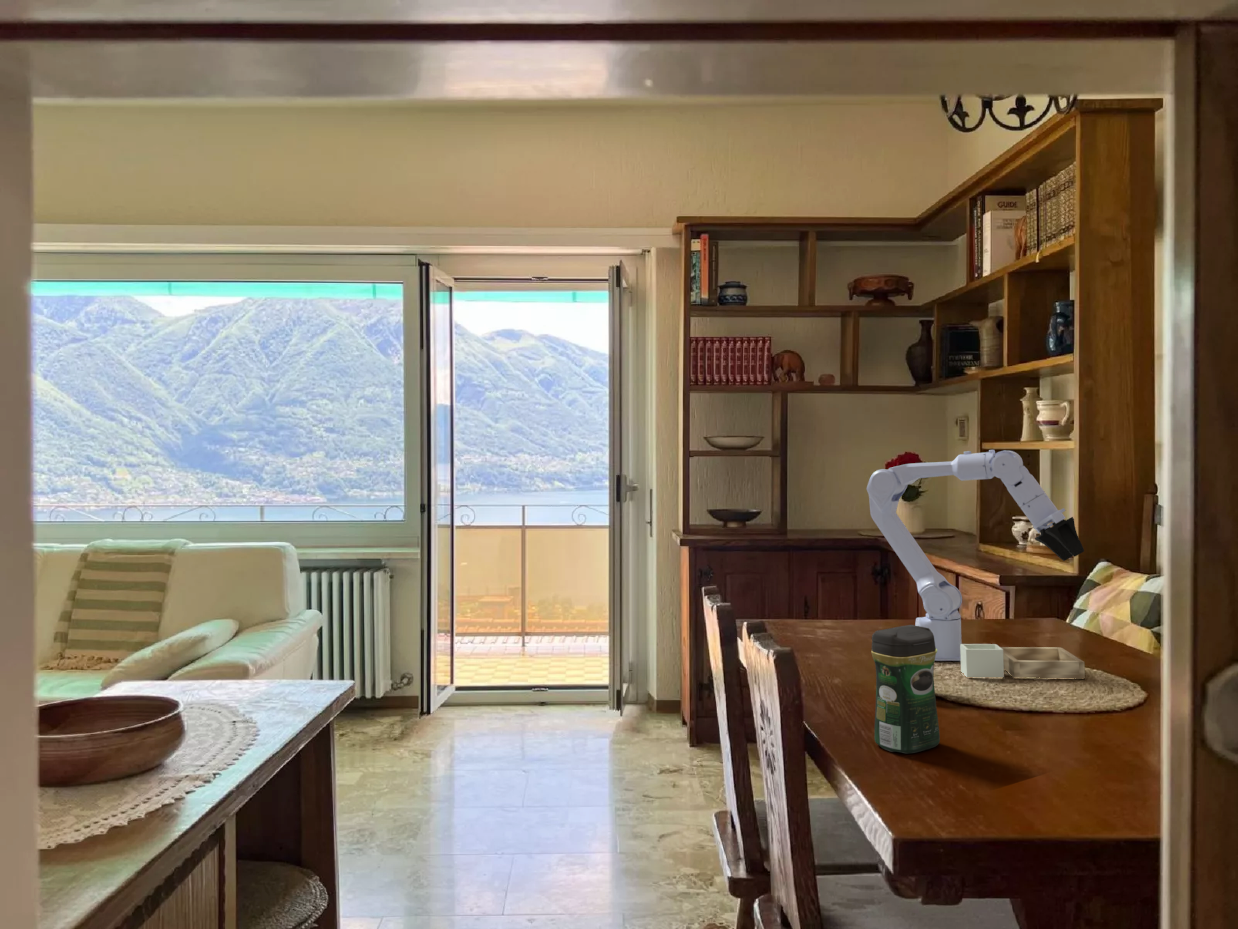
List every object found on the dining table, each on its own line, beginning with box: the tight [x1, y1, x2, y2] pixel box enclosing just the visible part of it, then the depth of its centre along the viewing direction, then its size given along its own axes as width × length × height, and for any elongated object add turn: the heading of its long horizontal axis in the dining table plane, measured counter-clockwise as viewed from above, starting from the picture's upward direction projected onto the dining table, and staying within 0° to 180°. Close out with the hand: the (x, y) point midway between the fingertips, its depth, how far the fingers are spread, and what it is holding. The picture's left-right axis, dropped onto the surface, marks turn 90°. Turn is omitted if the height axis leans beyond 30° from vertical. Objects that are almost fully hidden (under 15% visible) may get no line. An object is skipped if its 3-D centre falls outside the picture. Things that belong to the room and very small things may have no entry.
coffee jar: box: [870, 624, 941, 754], centre depth 136 cm, size 10×8×19 cm
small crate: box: [960, 643, 1005, 678], centre depth 176 cm, size 7×5×6 cm
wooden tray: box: [999, 646, 1086, 679], centre depth 178 cm, size 13×13×4 cm
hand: (1073, 556), depth 177 cm, fingers open, 7 cm apart
